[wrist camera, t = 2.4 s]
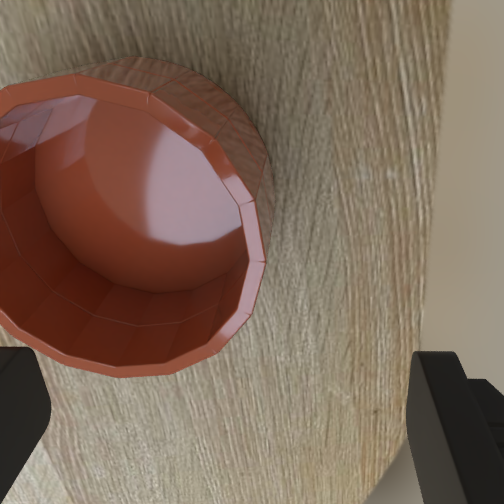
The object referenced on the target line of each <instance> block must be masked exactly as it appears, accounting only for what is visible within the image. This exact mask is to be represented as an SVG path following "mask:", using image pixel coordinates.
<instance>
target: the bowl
mask: <svg viewBox="0 0 504 504" xmlns="http://www.w3.org/2000/svg"><path fill="white" fill-rule="evenodd" d="M275 203H276V201H275V194H274V182H273V173H272V168H271V164H270V160H269V156H268V153H267V151H266V148H265V146H264V143H263V141H262V139H261V137H260V135H259V133H258V131H257V129H256V127H255V126H254V124H253V123H252V121H251V120H250V119H249V117H248V116H247V114H246V113H245V111H244V110H243V109H242V108H241V107H240V106H239V105H238V104H237V103H236V102H235V100H234V99H233V98H232V97H231V96H229V95H228V94H227V93H226V92H225V91H224V90H222V89H221V88H220V87H219V86H218V85H216V84H215V83H213V82H212V81H210V80H209V79H207V78H205V77H204V76H202V75H201V74H198V73H196V72H194V71H192V70H190V69H188V68H186V67H184V66H180V65H177V64H174V63H171V62H168V61H164V60H158V59H153V58H142V57H138V56H129V57H124V58H118V59H111V60H107V61H102V62H97V63H92V64H86V65H81V66H78V67H74V68H70V69H67V70H63V71H59V72H55V73H52V74H48V75H44V76H41V77H37V78H33V79H30V80H26V81H22V82H18V83H15V84H11V85H8V86H6V87H4V88H3V89H1V90H0V325H1V326H2V327H3V328H4V329H5V330H6V331H7V332H8V333H9V334H10V335H13V337H14V338H16V339H18V340H20V341H21V342H23V343H25V344H27V345H28V346H30V347H32V348H34V349H35V350H37V351H39V352H41V353H43V354H44V355H46V356H48V357H50V358H51V359H53V360H55V361H57V362H58V363H60V364H64V365H65V366H69V367H73V368H77V369H82V370H86V371H90V372H94V373H98V374H102V375H106V376H111V377H115V378H117V377H118V378H130V377H144V376H159V375H170V374H173V373H176V372H178V371H180V370H182V369H184V368H187V367H189V366H191V365H193V364H196V363H198V362H200V361H202V360H204V359H207V358H209V357H211V356H213V355H216V354H217V353H218V352H220V351H221V349H222V348H223V347H224V346H225V345H226V344H227V343H228V342H229V340H230V339H231V338H232V337H233V336H234V335H235V334H236V333H237V331H238V330H239V329H240V328H241V327H242V326H243V325H244V324H245V322H246V321H247V320H248V319H249V318H250V317H251V315H252V314H253V311H254V307H255V303H256V300H257V296H258V292H259V289H260V285H261V281H262V278H263V274H264V270H265V267H266V263H267V257H268V250H269V244H270V237H271V231H272V224H273V218H274V211H275Z"/></svg>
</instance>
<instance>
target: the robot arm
mask: <svg viewBox="0 0 504 504" xmlns="http://www.w3.org/2000/svg"><path fill="white" fill-rule="evenodd" d="M50 416H51V400H50V396H49V393H48V391H47V388H46V385H45V382H44V379H43V376H42V373H41V370H40V367H39V364H38V361H37V358H36V355H35V353H34V351H33V350H32V349H31V348H29V347H0V504H1V503H2V501H3V499H4V498H5V496H6V494H7V493H8V491H9V489H10V488H11V486H12V485H13V483H14V481H15V480H16V478H17V476H18V475H19V473H20V471H21V470H22V468H23V466H24V465H25V463H26V462H27V460H28V458H29V457H30V455H31V453H32V452H33V450H34V448H35V447H36V445H37V443H38V442H39V440H40V439H41V437H42V435H43V434H44V432H45V430H46V428H47V426H48V424H49V421H50ZM406 426H407V434H408V440H409V445H410V449H411V453H412V457H413V461H414V465H415V469H416V473H417V477H418V481H419V485H420V489H421V493H422V498H423V502H424V504H504V396H503V395H502V394H501V393H500V392H499V391H498V390H497V389H496V388H495V387H494V386H493V385H491V384H490V383H489V382H488V381H487V380H486V379H467V377H466V374H465V372H464V370H463V368H462V366H461V363H460V361H459V359H458V357H457V355H456V353H455V352H452V351H447V352H446V351H443V352H442V351H439V352H438V351H414V352H413V355H412V360H411V369H410V378H409V387H408V396H407V405H406Z"/></svg>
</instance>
